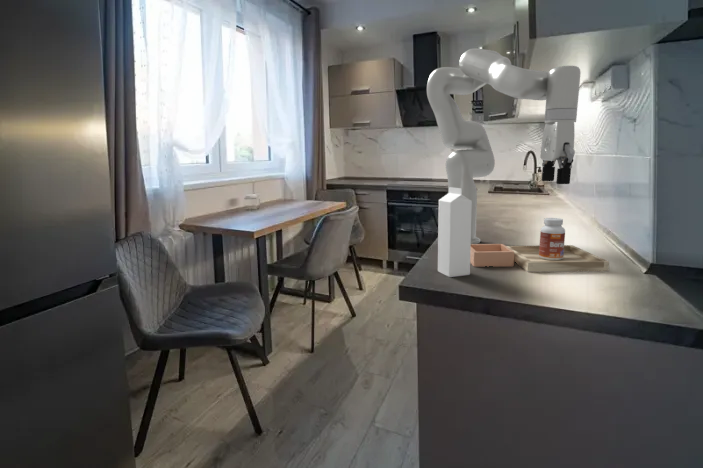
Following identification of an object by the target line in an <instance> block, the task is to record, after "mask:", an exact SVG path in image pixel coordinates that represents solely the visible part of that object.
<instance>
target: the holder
mask: <svg viewBox="0 0 703 468" xmlns="http://www.w3.org/2000/svg"><path fill="white" fill-rule="evenodd" d="M507 246H508V245H505V244H504V243H478V244H471V249H470V265H471V266H473V267H474V268H475V267H476V268H477V267H478V268H480V267H481V268H482V267H483V268H484V267H485V266H487V268H488V267H489V266H493V267H514V265H515V262H514V251H512V250H511V249H509V248H508V247H507ZM489 268H490V267H489Z"/></svg>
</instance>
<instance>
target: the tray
mask: <svg viewBox="0 0 703 468" xmlns="http://www.w3.org/2000/svg"><path fill="white" fill-rule="evenodd" d="M506 246H507V247H508V248H509V249H511V250H512V251H514V263H515V262H516V263H517V264H516V263H515V264H516V265H518V266H519V265H520V266H521V267H520V266H519V267H520V268H522V269H523V268H524V269H525V271H526V272H527V273H545V272H546V273H548V272H549V273H554V272H555V273H556V272H557V273H561V272H563V273H564V272H566V273H567V272H569V273H570V272H572V273H573V272H577V273H578V272H582V273H583V272H609V270H610V269H609V267H610V261H609V260H606V259H604V258H602V257H599V256H597V255H595V254H593V253H591V252H590V251H589V252H588V251H586V250H584V249H583V248H579V247H578V246H576V245H573V244H572V245H571V244H569V245H567V244H564V255H563V259H561V260H546V259H542V258H540V257H539V247H540V245H506ZM524 269H523V270H524Z"/></svg>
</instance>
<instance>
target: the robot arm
mask: <svg viewBox="0 0 703 468" xmlns="http://www.w3.org/2000/svg"><path fill="white" fill-rule="evenodd" d="M458 65H459V67H454V66H453V67H451V66H445V67H437V68H435V69H434V70H433V71H432V72H431V73H430V74H429V77H428V80H427V84H426V96H427V100H428V102H429V105H430V108H431V110H432V111H433V112H432V113H433V114H434V117H435V120H436V125H437V127H438V130H439V134H440V137H441V140H442V142H443V145H444V146H445V148H447V149H452V150H454V151H452V152H451V153H450V154H448V155H447V158H446V160H445V170H446V171H445V172H446V175H447V176H446V177H447V185H448V187H447V190H448V191H447V194H448V193H449V187H453V188H461V189H462V195H463V196H465V197H466V198H468V199H469V200H471V201H472V211H471V244H481V238H480V237H477V213H478V212H477V211H478V209H477V208H478V206H477V205H478V190H477V186H476V183H475V180H474V178H483V177H487V176H489V175H491V174H492V172H494V170H495V165H496V163H495V156H494V153H493V150H492V146H491V143H490V141H489V137H488V134H487V131H486V130H485V127H484V126H483V125H482V124H481V123H480V122H478V121H473V120H465V119H464V118H463V116H462V113H461V109H460V107H459V105H458V103H457V102H456V101H455V99H454V98H453V97H452V96H451V95H461V96H466V95H467V96H469V95H470V94H473V93H475V92H476V91H479V90H480V89H481V88H483V87H485V86H486V85H490V86H491V87H492V88H493V89H494V90H495V91H496V92H499V93H501V94H503V95H506V96H509V97H512V98H514V99H519V100H520V99H521V100H530V101H531V100H532V101H545V110H544V124H545V125H544V129H543V133H542V140H541V147H540V153H539V155H540V156H539V158H540V159H541V160H542V164H541V166H542V169H541V170H542V171H541V181H542V182H554V180H555V172H556V182H555V183H556V185H569V184H571V173H572V168H573V162H574V158H575V153H576V150H575V148H574V147H575V123H576V122H577V116H578V106H579V95H580V85H581V73H582V71H581V69H580V67H579V66H577V65H561V66H557V67H553V68H551V69H550V70H549V71H547V70H546V71H545V70H535V69H529V68H528V69H527V68H524V67H523V68H522V67H519V66H516V65H513V64H512V61H511V60H510V58H508V57H507V56H503V55H501V53H499V52H498V51H496V50H492V49H484V48H476V47H475V48H469V49H468V50H466V51H464V52H463V53H462V54H461V56H460V59H459V64H458ZM556 162H557V164H558V168H557V169H556V167H555V163H556ZM556 170H557V171H556Z"/></svg>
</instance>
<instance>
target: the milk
mask: <svg viewBox="0 0 703 468" xmlns="http://www.w3.org/2000/svg"><path fill="white" fill-rule="evenodd" d="M471 211H472V201H471V200H469V199H468V198H466V197H465V196H463V195H462V189H461V188H453V187H449V193H448V192H447V193H446V194H445V195H444V196H442V197H441V198H439V199H438V211H437V212H438V216H437V218H438V219H437V220H438V221H437V225H438V227H437V233H438V235H437V272H439V273H440V274H442V275H444V276H446V277H448V278H452V277H453V278H454V277H462V276H470V275H471V263H470V249H471Z"/></svg>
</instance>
